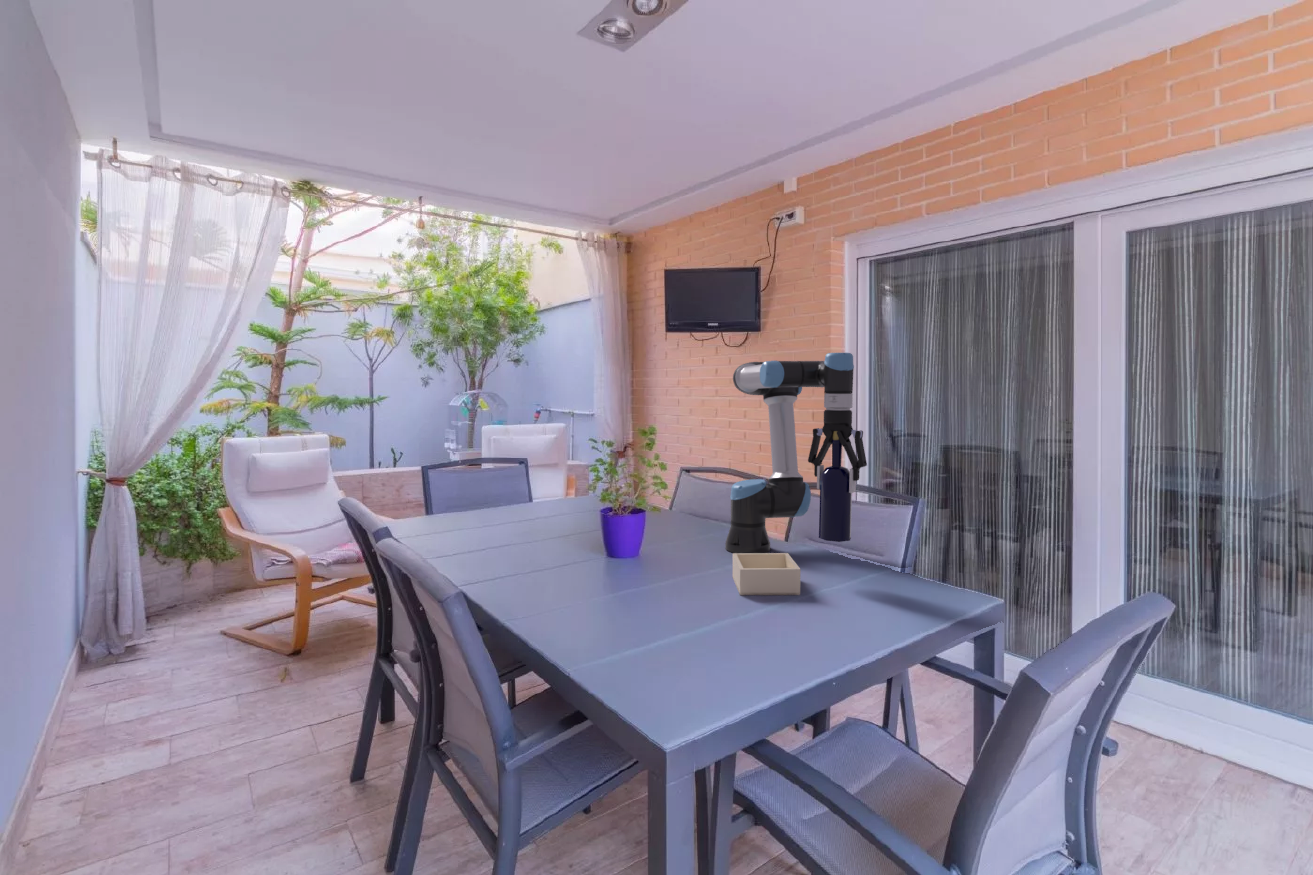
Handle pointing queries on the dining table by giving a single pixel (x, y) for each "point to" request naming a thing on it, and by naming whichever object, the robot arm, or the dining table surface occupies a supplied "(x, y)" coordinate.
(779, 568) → the bin
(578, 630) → the dining table surface
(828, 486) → the bottle
